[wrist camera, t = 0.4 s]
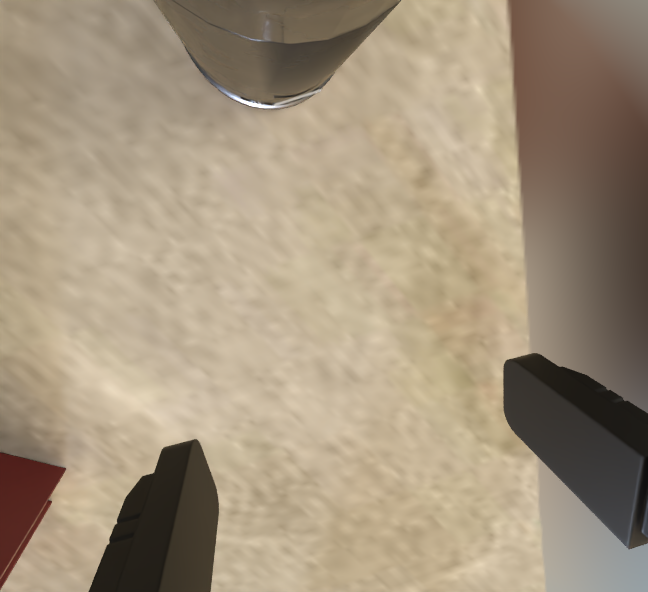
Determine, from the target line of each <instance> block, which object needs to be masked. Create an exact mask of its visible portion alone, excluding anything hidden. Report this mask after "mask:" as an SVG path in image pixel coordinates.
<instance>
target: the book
mask: <svg viewBox="0 0 648 592" xmlns="http://www.w3.org/2000/svg"><path fill="white" fill-rule="evenodd" d="M65 471H66V468H62V467H58V466H53V465H49V464H45V463H41V462H37V461H33V460H29V459H25V458H21V457H17V456H13V455H8V454H4V453H0V590H1V588H2V586H3V585H4V583H5V581H6V580H7V578H8V576H9V575H10V573H11V571H12V570H13V568H14V566H15V564H16V563H17V561H18V559H19V558H20V556H21V554H22V553H23V551H24V549H25V547H26V546H27V544H28V542H29V541H30V539H31V537H32V536H33V534H34V532H35V531H36V529H37V527H38V525H39V524H40V522H41V520H42V519H43V517H44V515H45V514H46V512H47V510H48V509H49V507H50V505H51V503H52V501H48V499H49V497H50V496H51V494H52V492H53V491H54V489H55V488H56V486H57V484H58V483H59V481H60V479H61V478H62V476H63V474H64V473H65Z"/></svg>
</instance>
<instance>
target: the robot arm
mask: <svg viewBox="0 0 648 592" xmlns="http://www.w3.org/2000/svg"><path fill="white" fill-rule="evenodd" d="M153 1H154V2H155V4H156V5H157V6H158V8H159V9H160V11H161V12H162V14H163V15H164V16H165V18H166V19H167V21H168V22H169V24H170V25H171V27H172V28H173V29H174V31H175V32H176V34H177V35H178V37H179V38H180V39H181V41H182V43H183V44H184V46H185V48H186V50H187V52H188V54H189V55H190V57H191V59H192V60H193V62H194V63H195V65H196V66H197V68H198V69H199V70H200V71H201V73H202V74H203V75H204V76H205V78H206V79H207V80H208V81H209V82H210V83H211V84H212V85H213V86H215V87H216V88H217V89H218V90H219V91H221V92H222V93H223V94H225V95H226V96H228V97H229V98H231V99H233V100H235V101H237V102H239V103H241V104H244V105H247V106H250V107H254V108H259V109H271V110H273V109H283V108H288V107H291V106H294V105H297V104H299V103H302V102H303V101H305V100H307V99H309V98H310V97H312V96H313V95H314V94H316V93H318V92H320V91H321V90H322V89H321V88H322V87H323V86H324V85H325V84H326V83H327V82H328V81H329V80H330V78H331V77H332V76H333V74H334V73H335V71H336V70H337V69H338V68H339V67H340V66H341V65H342V64H343V63H344V62H345V60H346V59H347V58H348V57H349V56H350V55H351V54H352V53H353V52H354V51H355V50H356V49H357V48H358V46H359V45H360V44H361V43H362V42H363V41H364V40H365V39H366V38H367V37H368V36H369V35H370V34H371V32H372V31H373V30H374V29H375V28H376V27H377V26H378V25H379V24H380V23H381V22H382V21H383V20H384V18H385V17H386V16H387V15H388V14H389V13H390V12H391V11H392V10H393V9H394V8H395V7H396V6H397V4H398V3H399V2H400V1H401V0H153ZM504 413H505V417H506V420H507V422H508V424H509V426H510V427H511V429H512V430H513V431H514V433H515V434H516V435H517V436H518V437H519V438H520V439H521V440H522V441H523V442H524V443H525V444H526V445H527V446H528V447H529V448H530V449H531V450H532V451H533V452H534V453H535V454H536V455H537V456H538V457H539V458H540V459H541V460H542V461H543V462H544V463H545V464H546V465H547V466H548V467H549V468H550V469H551V470H552V471H553V472H554V473H555V474H556V475H557V476H558V478H559V479H561V481H562V482H563V483H565V485H566V486H567V487H568V488H569V489H570V490H571V491H572V492H573V493H574V494H575V495H576V496H577V497H578V498H579V499H580V500H581V501H582V502H583V503H584V504H585V505H586V506H587V507H588V508H589V509H590V510H591V511H592V512H593V513H594V514H595V515H596V516H597V517H598V518H599V519H600V520H601V521H602V522H603V523H604V524H605V525H606V526H607V527H608V529H609V530H610V531H611V532H612V533H613V534H614V535H615V536H616V537H617V538H618V539H619V540H621V542H622V543H623V544H624V545H625V546H626V547H627V548H628V549H632V548H635V547H638V546H641V545H644V544H647V543H648V413H646V412H645V411H643V410H641V409H640V408H638V407H637V406H635V405H633V404H632V403H630V402H629V401H624V400H623V398H622V397H621V396H619V395H617V394H616V393H614V392H613V391H611V390H607V389H606V387H605V386H603V385H601V384H600V383H598V382H597V381H595V380H593V379H592V378H590V377H589V376H587V375H585V374H582V373H579V372H576V371H573V370H570V369H567V368H565V367H559V366H557V365H556V364H554V363H552V362H551V361H549V360H548V359H546V358H544V357H543V356H542V355H540V354H537V353H532V354H528V355H525V356H521V357H517V358H513V359H509V360H507V361H506V362H505V364H504ZM218 515H219V503H218V494H217V489H216V486H215V483H214V480H213V477H212V475H211V472H210V469H209V466H208V464H207V461H206V458H205V456H204V453H203V450H202V447H201V445H200V443H199V441H198V440H197V439H194V440H191V441H187V442H183V443H179V444H175V445H171V446H167V447H164V448H163V449H162V451H161V454H160V457H159V460H158V463H157V466H156V469H155V472H154V473H153V474H149V475H145V476H142V477H141V479H140V480H139V481H138V483H137V484H136V485H135V486H134V488H133V489H132V490H131V491H130V493H129V494H128V495H127V497H126V498H125V501H124V503H123V506H122V508H121V511H120V514H119V516H118V519H117V524H116V525H115V526H114V529H113V531H112V534H111V536H110V539H109V540H110V543H109V544H108V545H107V547H106V549H105V552H104V554H103V557H102V559H101V562H100V564H99V567H98V569H97V572H96V575H95V577H94V580H93V582H92V585H91V587H90V590H89V592H210V591H211V582H212V572H213V563H214V553H215V544H216V534H217V525H218Z"/></svg>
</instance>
